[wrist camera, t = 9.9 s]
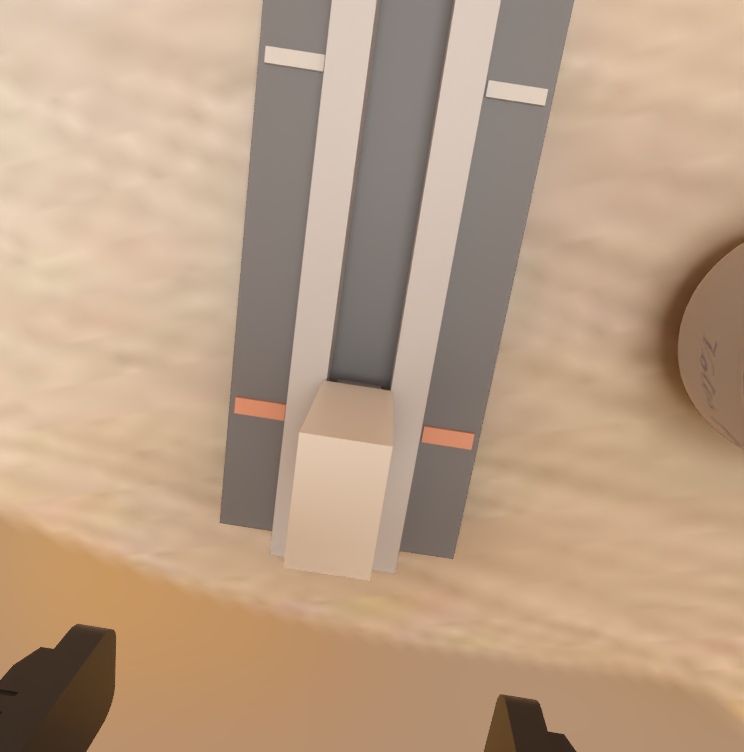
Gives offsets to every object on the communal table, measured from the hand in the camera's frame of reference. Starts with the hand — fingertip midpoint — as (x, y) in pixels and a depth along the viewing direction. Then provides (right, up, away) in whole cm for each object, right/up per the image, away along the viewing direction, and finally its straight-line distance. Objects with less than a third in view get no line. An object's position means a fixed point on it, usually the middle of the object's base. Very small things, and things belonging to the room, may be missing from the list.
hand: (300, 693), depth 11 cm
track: (+2, +11, +15) cm, 19 cm away
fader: (+1, +4, +15) cm, 15 cm away
